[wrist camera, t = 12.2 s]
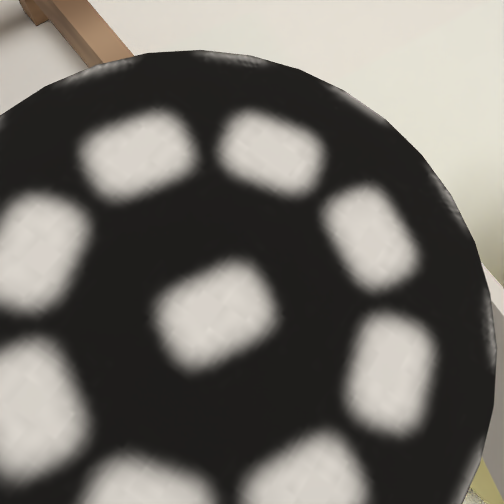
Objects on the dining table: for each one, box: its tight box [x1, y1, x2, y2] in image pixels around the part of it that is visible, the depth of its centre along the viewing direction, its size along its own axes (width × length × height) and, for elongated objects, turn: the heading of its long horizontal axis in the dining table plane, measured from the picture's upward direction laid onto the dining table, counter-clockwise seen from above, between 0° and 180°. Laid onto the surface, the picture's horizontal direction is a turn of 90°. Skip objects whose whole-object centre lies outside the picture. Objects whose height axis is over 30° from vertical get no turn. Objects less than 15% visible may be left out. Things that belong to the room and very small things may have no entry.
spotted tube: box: [0, 50, 497, 504], centre depth 15 cm, size 8×8×20 cm
